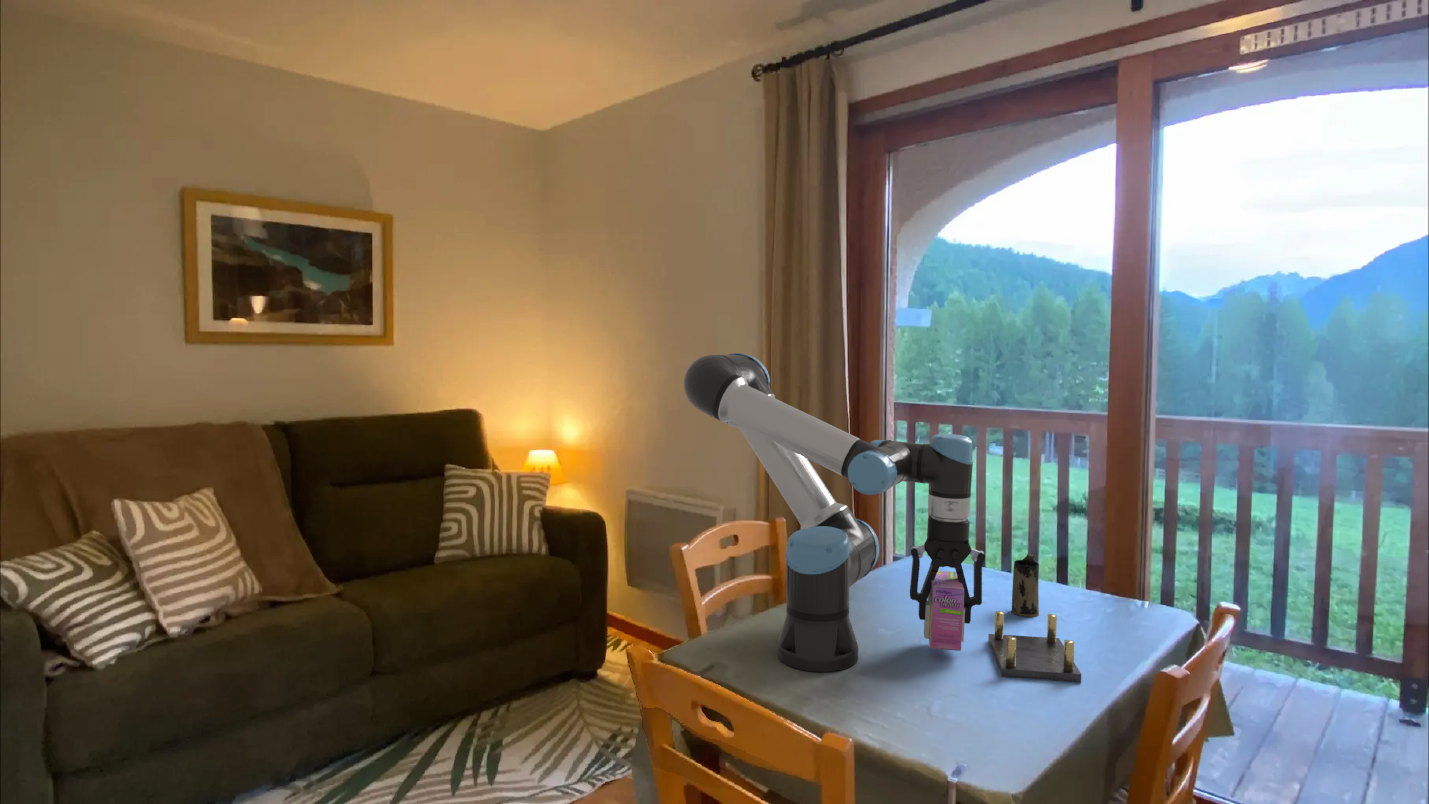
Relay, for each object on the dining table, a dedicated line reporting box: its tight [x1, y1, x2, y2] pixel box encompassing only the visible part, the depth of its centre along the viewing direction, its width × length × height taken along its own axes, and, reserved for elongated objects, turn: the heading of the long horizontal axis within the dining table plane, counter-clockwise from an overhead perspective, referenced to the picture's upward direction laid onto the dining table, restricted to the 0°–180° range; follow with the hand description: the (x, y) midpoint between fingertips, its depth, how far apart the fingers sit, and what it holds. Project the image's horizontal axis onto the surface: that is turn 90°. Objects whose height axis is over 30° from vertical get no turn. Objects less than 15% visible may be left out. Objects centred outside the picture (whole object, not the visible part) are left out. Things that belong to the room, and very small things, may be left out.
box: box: [927, 570, 964, 652], centre depth 151 cm, size 10×6×12 cm, turn 169°
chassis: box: [987, 610, 1082, 684], centre depth 147 cm, size 13×17×6 cm
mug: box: [1011, 553, 1040, 618], centre depth 174 cm, size 8×6×12 cm
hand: (943, 637), depth 151 cm, fingers closed on box, 6 cm apart
